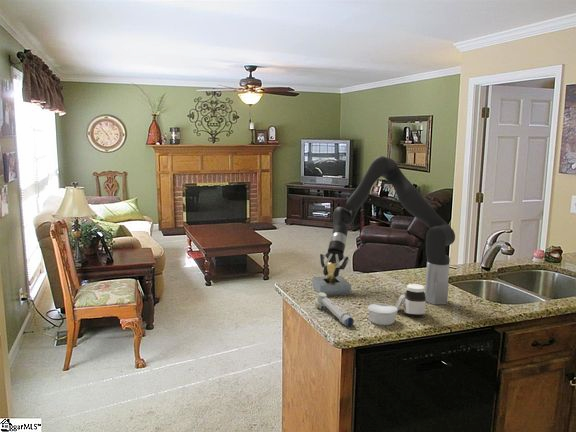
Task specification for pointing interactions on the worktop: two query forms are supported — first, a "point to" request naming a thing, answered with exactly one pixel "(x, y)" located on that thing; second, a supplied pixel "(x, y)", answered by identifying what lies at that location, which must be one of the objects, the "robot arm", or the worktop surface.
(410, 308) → the spread jar
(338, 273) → the robot arm
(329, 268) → the brass bushing
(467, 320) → the worktop surface
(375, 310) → the ramekin
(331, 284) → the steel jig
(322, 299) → the grey blue-tipped handle
